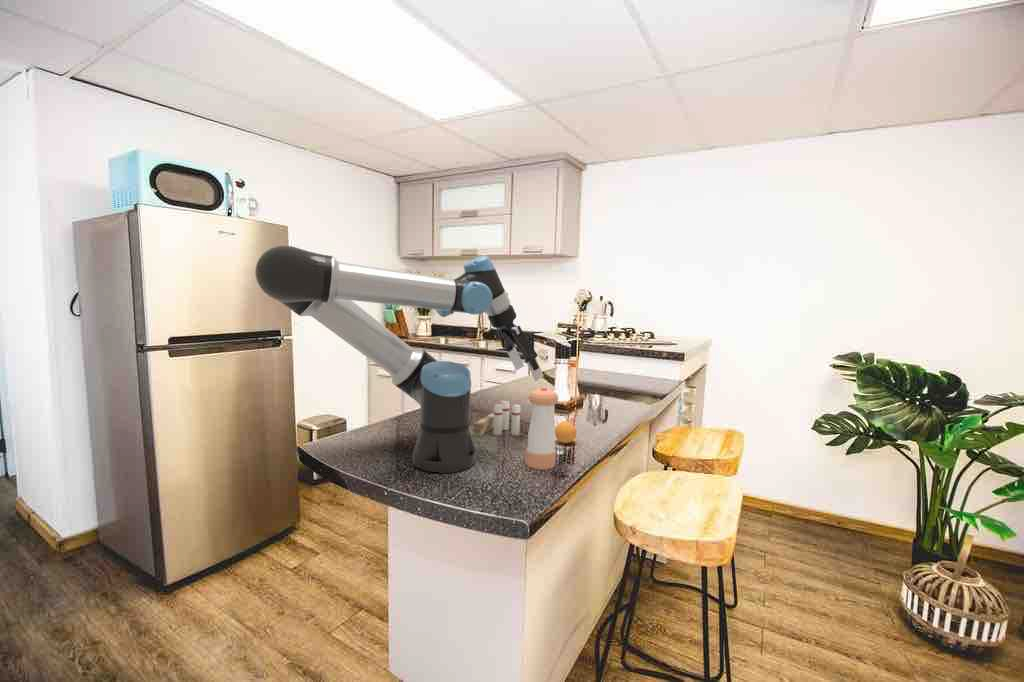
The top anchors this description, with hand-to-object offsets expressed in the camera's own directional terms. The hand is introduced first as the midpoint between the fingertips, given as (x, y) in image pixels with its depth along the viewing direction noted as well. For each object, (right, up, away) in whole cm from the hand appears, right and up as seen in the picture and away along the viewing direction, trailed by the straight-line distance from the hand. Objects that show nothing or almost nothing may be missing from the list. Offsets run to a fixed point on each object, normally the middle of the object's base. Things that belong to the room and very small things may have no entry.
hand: (529, 373), depth 131 cm
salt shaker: (+2, -21, -23) cm, 31 cm away
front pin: (-4, -18, -1) cm, 18 cm away
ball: (+10, -16, -7) cm, 20 cm away
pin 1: (-9, -18, -2) cm, 20 cm away
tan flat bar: (-13, -17, +2) cm, 21 cm away
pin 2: (-7, -17, +3) cm, 19 cm away
